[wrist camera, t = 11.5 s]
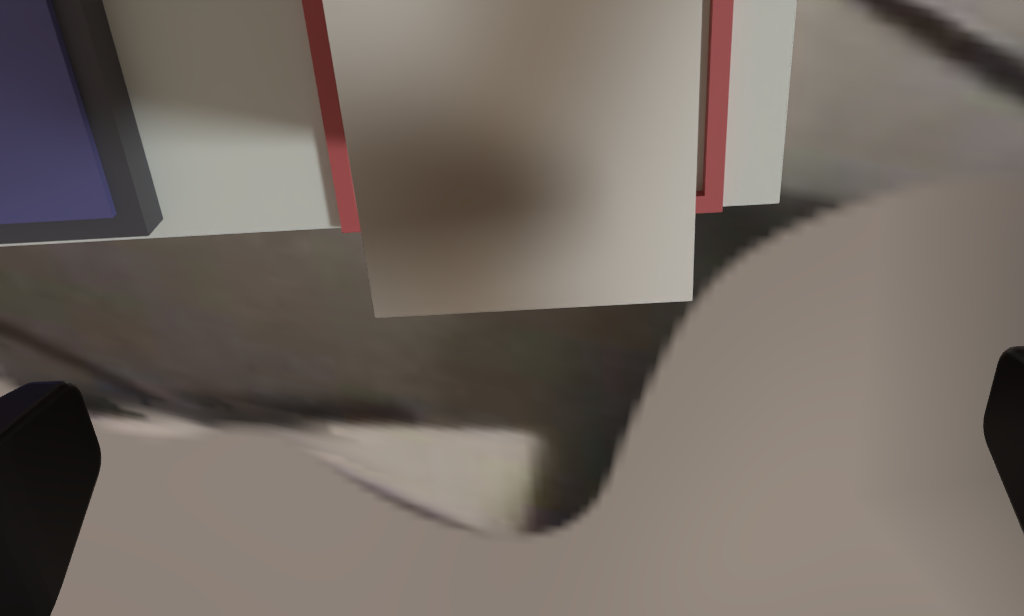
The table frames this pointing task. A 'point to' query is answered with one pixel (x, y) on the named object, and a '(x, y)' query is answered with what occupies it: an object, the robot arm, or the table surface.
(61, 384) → the robot arm
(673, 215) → the stamp
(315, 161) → the blotter board
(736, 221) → the table surface
